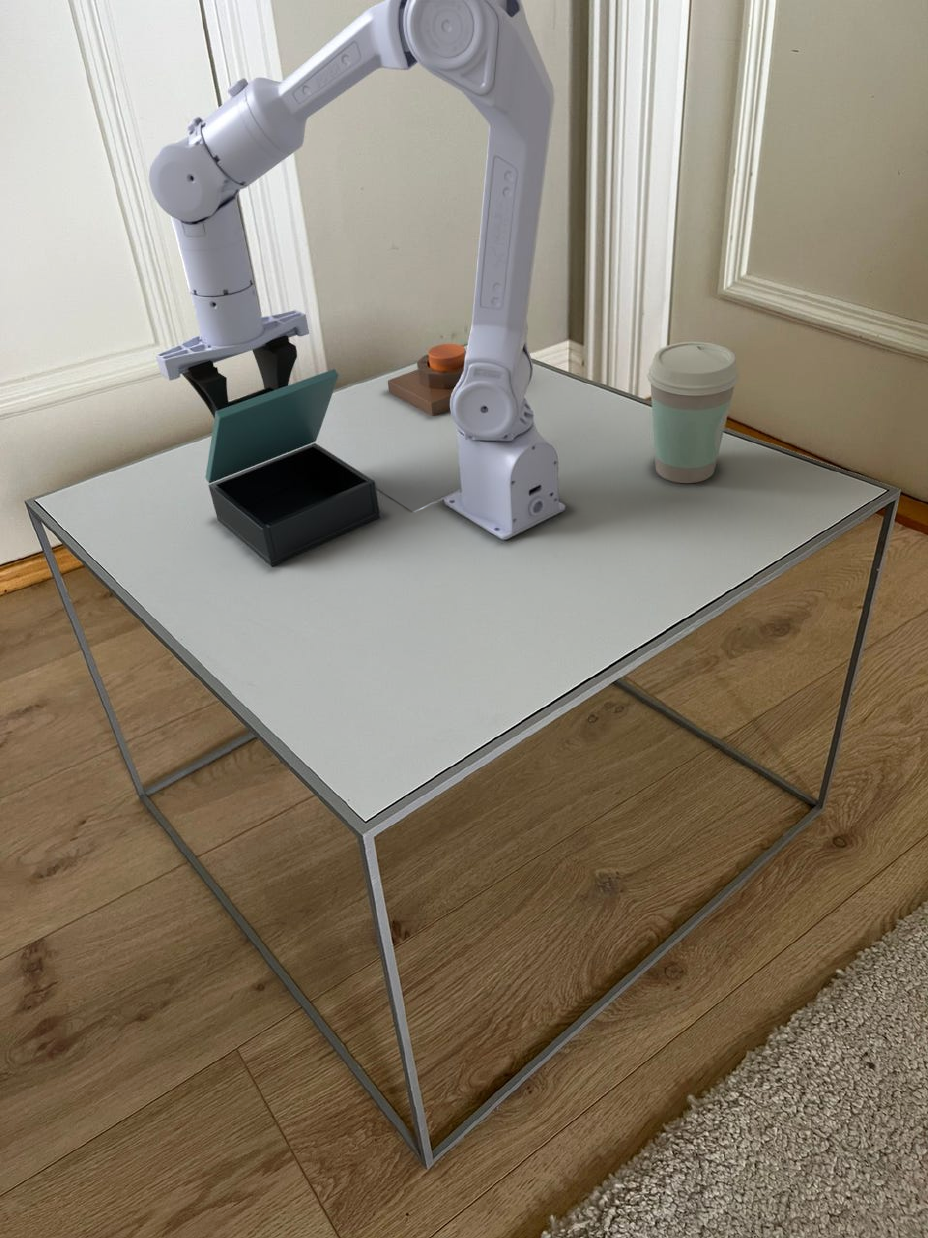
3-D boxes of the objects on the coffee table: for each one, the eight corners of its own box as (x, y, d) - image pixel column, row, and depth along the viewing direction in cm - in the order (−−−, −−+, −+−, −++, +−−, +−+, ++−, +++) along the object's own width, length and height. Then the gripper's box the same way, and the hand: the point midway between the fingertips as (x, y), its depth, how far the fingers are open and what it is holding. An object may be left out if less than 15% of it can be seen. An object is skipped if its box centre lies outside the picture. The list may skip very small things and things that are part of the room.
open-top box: (380, 517, 93) (375, 481, 90) (271, 567, 87) (262, 529, 85) (321, 477, 100) (315, 442, 98) (217, 520, 95) (207, 484, 92)
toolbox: (339, 375, 87) (312, 333, 88) (219, 418, 81) (191, 373, 82) (316, 441, 97) (292, 403, 98) (209, 484, 92) (184, 443, 92)
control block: (465, 363, 121) (464, 337, 119) (511, 384, 115) (510, 357, 113) (388, 393, 115) (385, 366, 113) (432, 416, 110) (429, 388, 108)
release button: (451, 354, 116) (450, 340, 115) (473, 364, 113) (472, 350, 112) (422, 365, 114) (421, 351, 113) (444, 375, 111) (443, 361, 110)
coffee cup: (728, 492, 92) (742, 376, 85) (640, 488, 94) (646, 374, 86) (727, 450, 99) (740, 339, 91) (644, 447, 100) (650, 338, 93)
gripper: (271, 256, 90) (297, 389, 98) (127, 297, 84) (168, 436, 92) (309, 271, 85) (333, 410, 94) (160, 317, 79) (200, 461, 87)
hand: (254, 424), depth 93 cm, fingers closed on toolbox, 5 cm apart
